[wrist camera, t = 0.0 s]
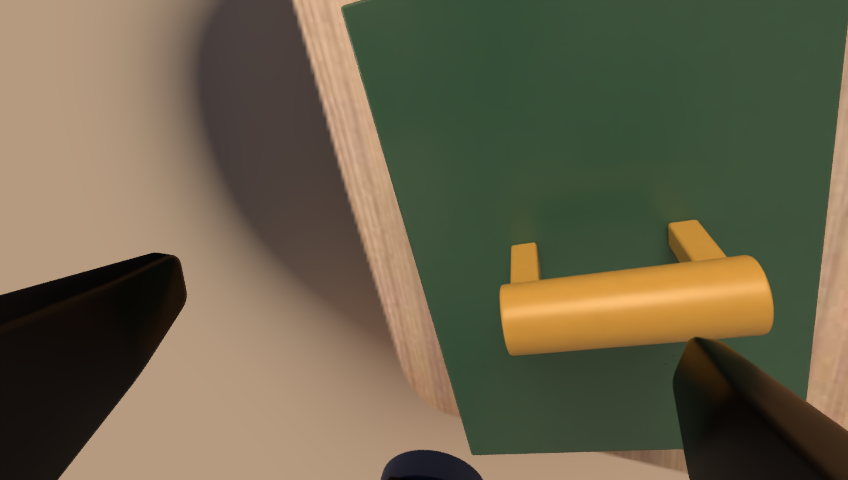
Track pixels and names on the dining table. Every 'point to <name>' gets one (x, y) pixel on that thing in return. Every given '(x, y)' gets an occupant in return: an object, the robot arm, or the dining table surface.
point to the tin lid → (605, 197)
